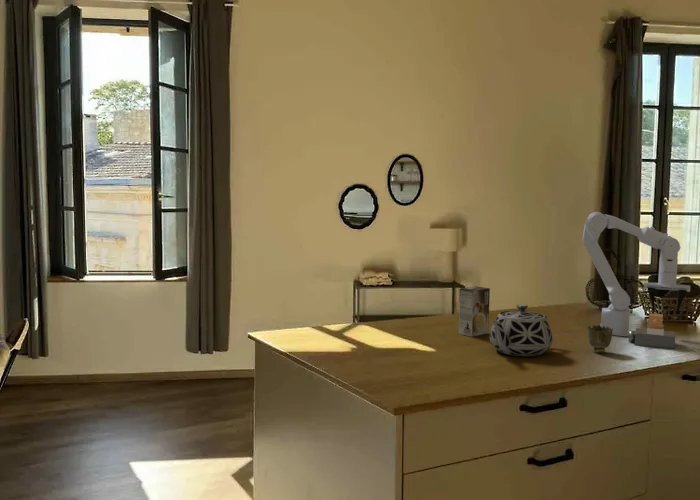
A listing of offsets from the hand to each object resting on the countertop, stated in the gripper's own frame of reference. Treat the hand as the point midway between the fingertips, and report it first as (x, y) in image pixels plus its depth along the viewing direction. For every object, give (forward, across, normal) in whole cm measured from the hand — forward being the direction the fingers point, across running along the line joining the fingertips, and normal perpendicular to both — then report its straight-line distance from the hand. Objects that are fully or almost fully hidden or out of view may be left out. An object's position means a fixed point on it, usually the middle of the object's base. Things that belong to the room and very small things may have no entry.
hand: (665, 310), depth 245 cm
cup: (+10, -19, -34) cm, 40 cm away
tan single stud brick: (+5, -3, -14) cm, 15 cm away
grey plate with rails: (+9, -3, -14) cm, 17 cm away
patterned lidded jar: (+10, -42, -46) cm, 63 cm away
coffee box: (+10, -61, -26) cm, 67 cm away
